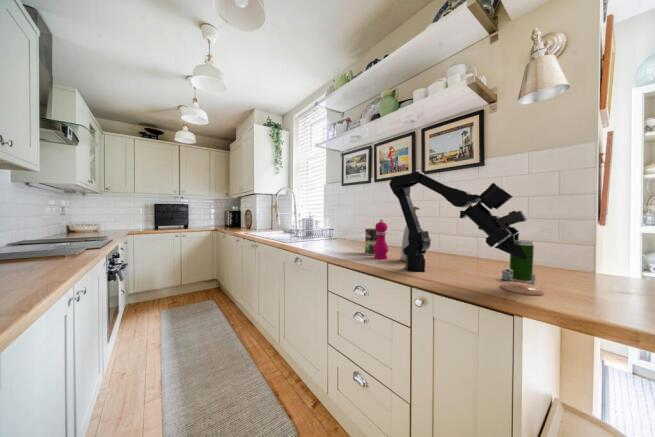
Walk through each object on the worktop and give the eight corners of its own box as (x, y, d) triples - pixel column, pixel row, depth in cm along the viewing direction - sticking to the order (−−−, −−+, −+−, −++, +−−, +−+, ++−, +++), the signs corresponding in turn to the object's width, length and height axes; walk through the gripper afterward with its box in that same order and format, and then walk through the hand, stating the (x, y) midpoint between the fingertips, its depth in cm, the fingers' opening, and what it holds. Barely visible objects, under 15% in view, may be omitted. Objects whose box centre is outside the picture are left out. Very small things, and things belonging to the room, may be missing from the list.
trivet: (515, 294, 65) (515, 290, 65) (493, 284, 75) (493, 280, 75) (554, 296, 64) (554, 292, 64) (526, 285, 74) (526, 282, 74)
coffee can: (369, 256, 124) (369, 229, 124) (362, 252, 134) (362, 228, 134) (386, 255, 126) (387, 229, 126) (378, 252, 136) (378, 228, 136)
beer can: (516, 282, 67) (518, 241, 67) (505, 277, 72) (506, 239, 72) (537, 283, 66) (538, 242, 66) (523, 278, 72) (525, 240, 72)
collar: (513, 283, 75) (514, 274, 75) (497, 277, 83) (497, 268, 83) (541, 284, 74) (541, 275, 74) (521, 278, 82) (522, 269, 82)
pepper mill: (388, 259, 114) (389, 219, 114) (373, 259, 115) (374, 219, 115) (387, 257, 121) (388, 219, 121) (373, 256, 122) (374, 218, 122)
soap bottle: (395, 259, 115) (395, 206, 114) (414, 258, 118) (415, 207, 118) (409, 264, 104) (410, 206, 104) (430, 263, 107) (431, 206, 107)
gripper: (500, 200, 65) (553, 243, 58) (511, 203, 78) (556, 238, 71) (468, 226, 71) (512, 268, 63) (483, 225, 84) (521, 260, 76)
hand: (527, 257), depth 68 cm, fingers closed on beer can, 5 cm apart
